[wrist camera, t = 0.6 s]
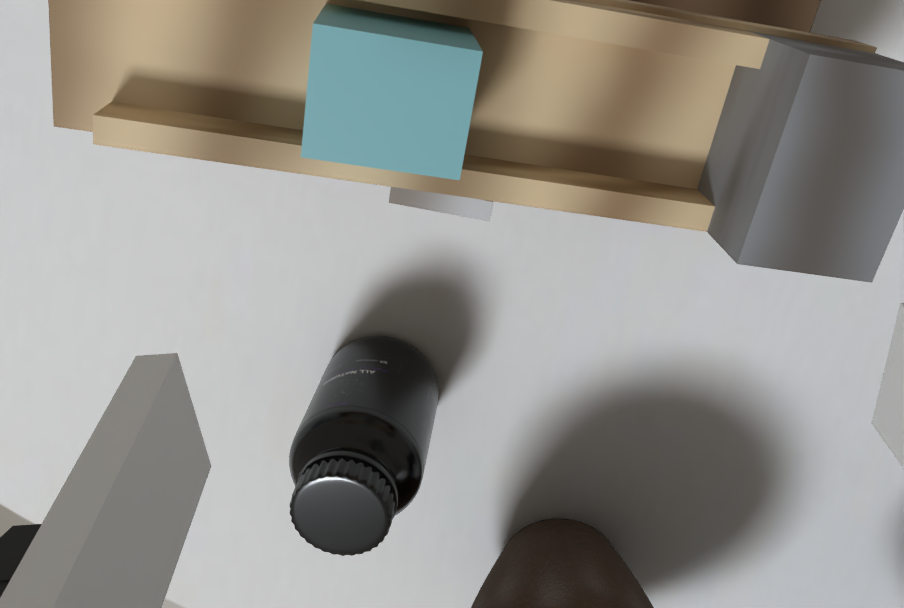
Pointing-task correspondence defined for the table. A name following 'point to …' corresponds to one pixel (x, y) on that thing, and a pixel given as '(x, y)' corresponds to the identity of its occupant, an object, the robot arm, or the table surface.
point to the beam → (538, 112)
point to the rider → (389, 92)
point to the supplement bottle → (362, 444)
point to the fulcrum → (766, 3)
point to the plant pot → (560, 571)
